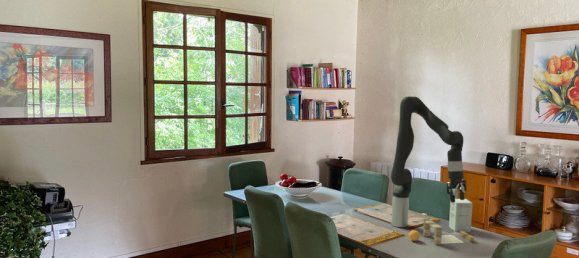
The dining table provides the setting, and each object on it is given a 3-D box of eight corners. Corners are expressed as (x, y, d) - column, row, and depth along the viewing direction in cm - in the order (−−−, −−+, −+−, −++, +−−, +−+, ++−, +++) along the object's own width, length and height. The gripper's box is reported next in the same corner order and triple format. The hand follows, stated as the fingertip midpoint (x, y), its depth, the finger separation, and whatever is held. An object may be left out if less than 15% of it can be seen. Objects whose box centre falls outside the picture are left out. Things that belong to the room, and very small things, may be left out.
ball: (406, 239, 241) (407, 229, 240) (416, 238, 242) (417, 228, 241) (411, 242, 236) (411, 232, 235) (421, 242, 236) (421, 232, 236)
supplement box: (464, 226, 265) (466, 198, 263) (471, 232, 255) (473, 202, 254) (448, 226, 264) (450, 198, 262) (454, 231, 255) (456, 202, 253)
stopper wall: (459, 235, 249) (459, 230, 249) (462, 235, 249) (462, 230, 249) (470, 242, 238) (470, 237, 238) (473, 242, 238) (474, 237, 238)
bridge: (422, 235, 247) (423, 219, 246) (428, 235, 248) (428, 218, 247) (435, 244, 233) (436, 227, 232) (441, 244, 234) (442, 227, 233)
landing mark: (431, 236, 247) (431, 235, 247) (452, 235, 249) (452, 234, 249) (442, 243, 235) (442, 243, 235) (463, 242, 237) (464, 242, 237)
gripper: (456, 168, 242) (458, 198, 242) (441, 171, 233) (443, 202, 233) (469, 168, 236) (471, 199, 236) (454, 171, 227) (456, 203, 227)
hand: (457, 201), depth 234 cm, fingers open, 8 cm apart
